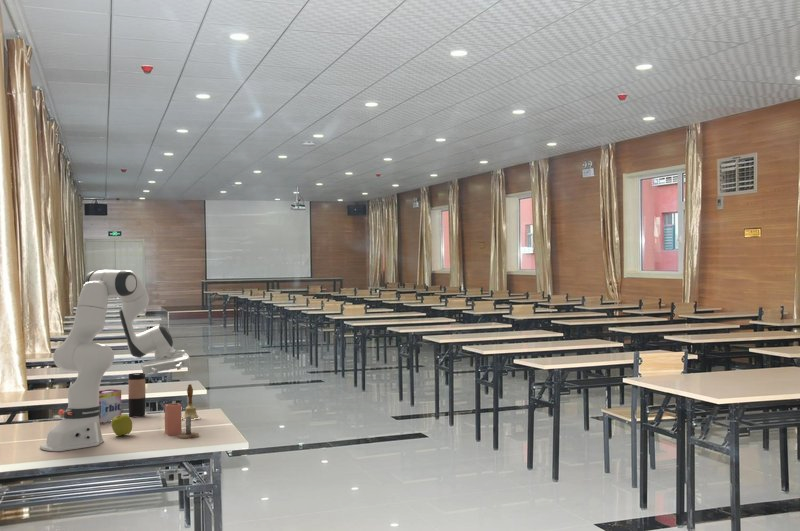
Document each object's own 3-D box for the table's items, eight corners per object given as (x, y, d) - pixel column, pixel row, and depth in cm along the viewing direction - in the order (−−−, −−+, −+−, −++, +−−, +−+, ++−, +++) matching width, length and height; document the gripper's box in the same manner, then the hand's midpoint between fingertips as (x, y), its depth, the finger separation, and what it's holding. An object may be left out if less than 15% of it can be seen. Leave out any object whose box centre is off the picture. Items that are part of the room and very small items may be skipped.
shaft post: (186, 439, 289) (186, 419, 289) (173, 437, 293) (173, 417, 294) (202, 436, 295) (202, 416, 295) (190, 434, 300) (190, 414, 300)
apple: (123, 433, 304) (123, 409, 305) (136, 435, 300) (136, 410, 301) (106, 436, 297) (106, 412, 298) (119, 438, 293) (119, 413, 294)
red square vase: (164, 433, 302) (164, 404, 303) (178, 432, 305) (178, 403, 305) (167, 435, 297) (167, 406, 298) (181, 434, 300) (181, 404, 300)
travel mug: (127, 415, 350) (127, 373, 351) (144, 414, 354) (144, 372, 354) (129, 417, 343) (129, 375, 344) (146, 416, 347) (146, 374, 347)
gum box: (78, 427, 320) (78, 396, 320) (66, 426, 323) (66, 395, 324) (122, 419, 341) (121, 389, 341) (110, 417, 345) (110, 389, 345)
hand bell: (196, 420, 333) (196, 385, 333) (178, 420, 333) (178, 385, 334) (202, 417, 341) (201, 383, 342) (184, 417, 341) (184, 383, 342)
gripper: (140, 357, 321) (140, 367, 308) (188, 349, 327) (190, 358, 315) (142, 370, 322) (142, 381, 310) (189, 362, 329) (192, 372, 316)
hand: (167, 370), depth 312 cm, fingers open, 8 cm apart
